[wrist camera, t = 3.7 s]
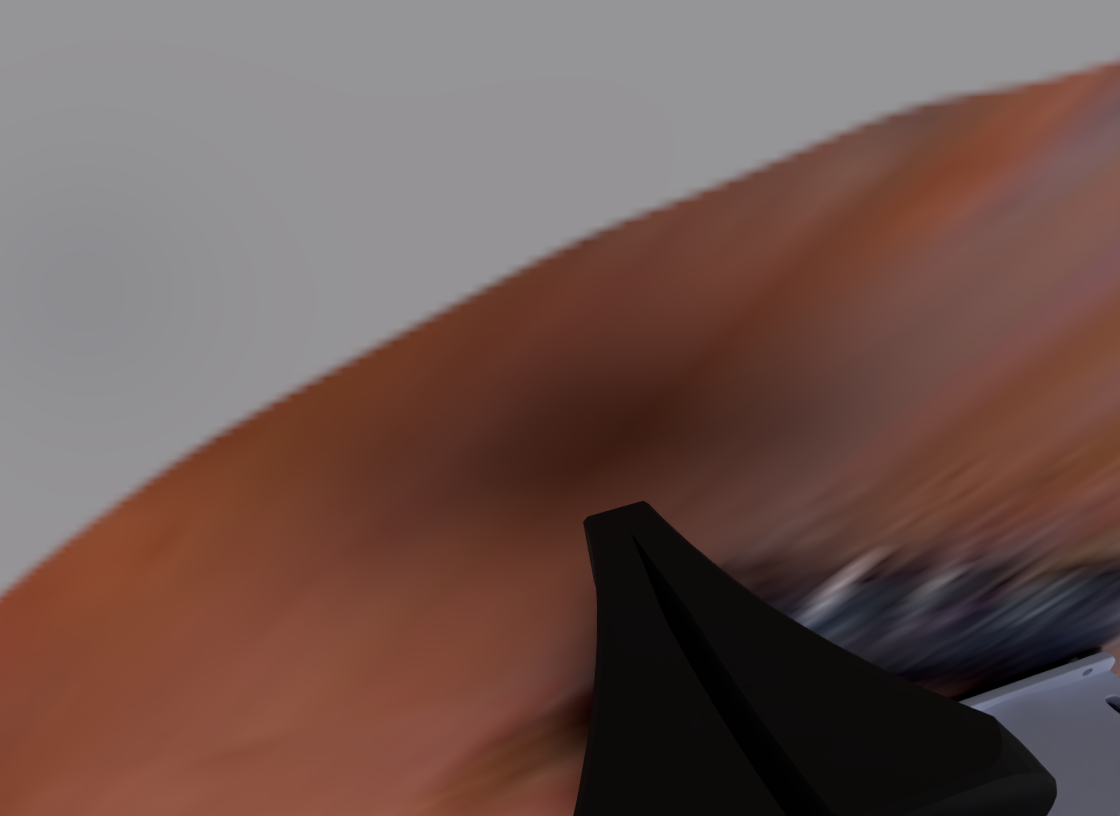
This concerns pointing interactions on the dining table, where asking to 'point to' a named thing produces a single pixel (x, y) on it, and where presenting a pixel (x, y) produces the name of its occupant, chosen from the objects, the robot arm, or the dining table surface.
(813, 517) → the dining table surface
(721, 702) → the robot arm
